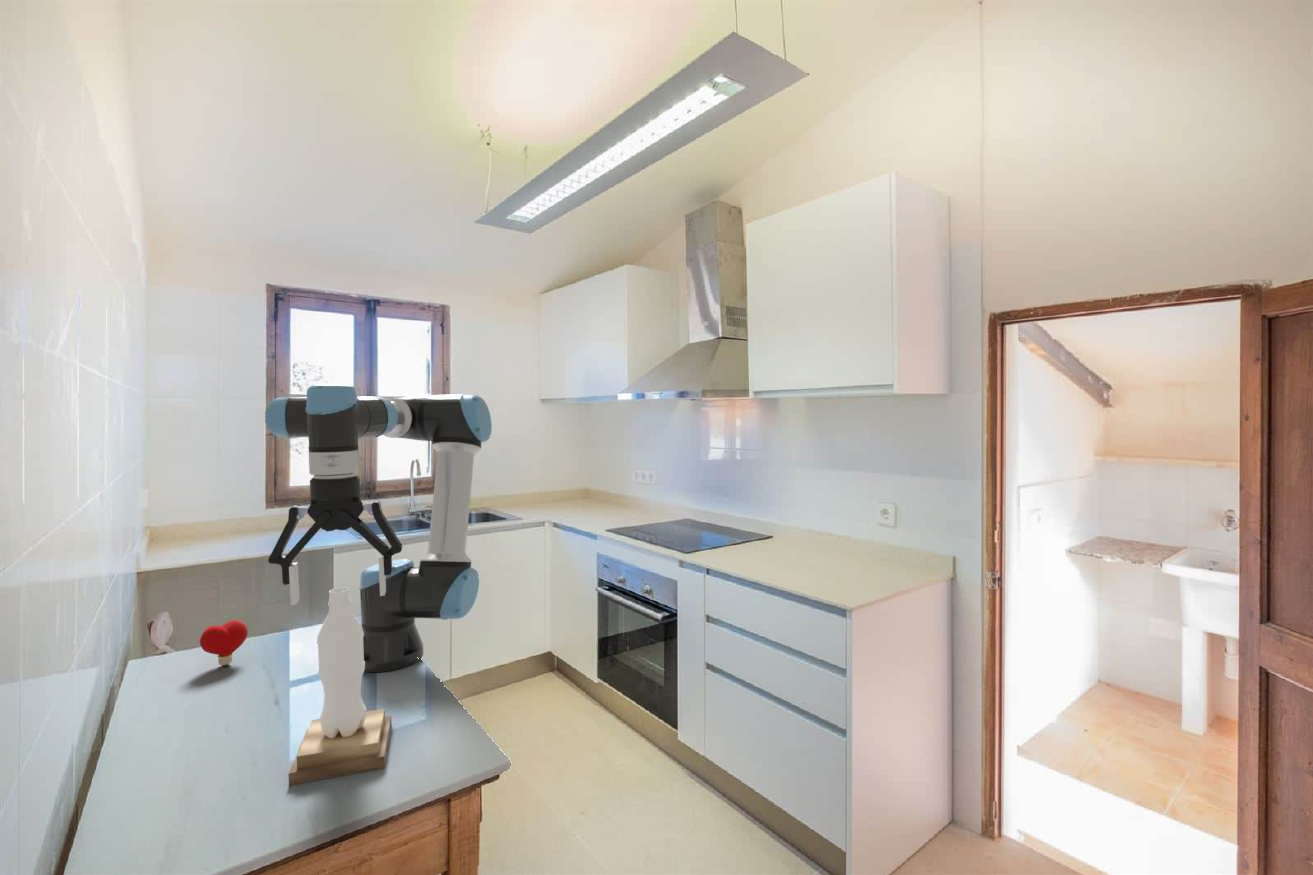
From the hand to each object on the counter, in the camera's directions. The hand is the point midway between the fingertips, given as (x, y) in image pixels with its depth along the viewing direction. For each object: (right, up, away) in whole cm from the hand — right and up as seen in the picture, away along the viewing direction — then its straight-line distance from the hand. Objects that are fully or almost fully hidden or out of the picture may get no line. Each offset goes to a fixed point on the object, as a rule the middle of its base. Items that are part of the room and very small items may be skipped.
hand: (340, 598), depth 104 cm
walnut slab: (0, -28, +1) cm, 28 cm away
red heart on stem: (-46, -26, +37) cm, 65 cm away
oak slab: (0, -26, +1) cm, 26 cm away
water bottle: (0, -24, +1) cm, 24 cm away
